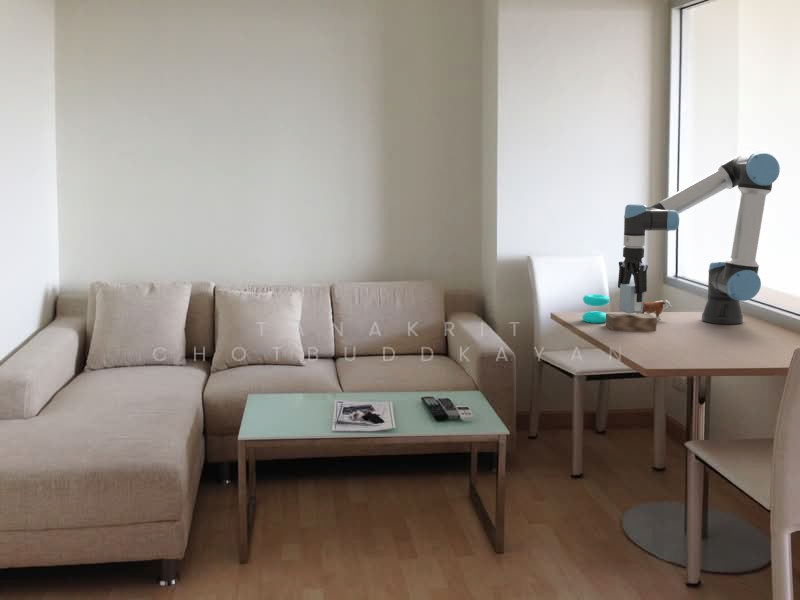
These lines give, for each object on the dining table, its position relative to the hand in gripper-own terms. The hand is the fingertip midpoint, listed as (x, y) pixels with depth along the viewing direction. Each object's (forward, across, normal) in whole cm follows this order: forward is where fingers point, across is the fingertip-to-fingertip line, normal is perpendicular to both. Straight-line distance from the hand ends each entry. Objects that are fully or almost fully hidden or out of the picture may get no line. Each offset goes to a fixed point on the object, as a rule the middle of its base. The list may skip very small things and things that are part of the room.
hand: (631, 309), depth 354 cm
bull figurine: (+7, -10, +19) cm, 23 cm away
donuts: (+7, -17, -3) cm, 19 cm away
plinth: (+7, 0, 0) cm, 7 cm away
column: (+1, 0, 0) cm, 1 cm away
